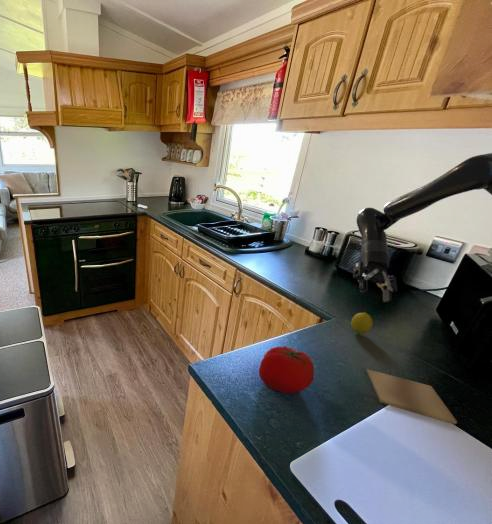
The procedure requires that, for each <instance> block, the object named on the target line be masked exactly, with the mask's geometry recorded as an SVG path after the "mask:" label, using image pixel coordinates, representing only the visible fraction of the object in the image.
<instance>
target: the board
mask: <svg viewBox="0 0 492 524" xmlns="http://www.w3.org/2000/svg"><path fill="white" fill-rule="evenodd" d="M365 373H366V374H367V376H368V378H369V381H370V383H371V385H372V387H373V389H374V391H375V394H376V396H377V399H378V400H379V402H380V403H381V404H385V405H389V406H392V407H395V408H399V409H401V410H404V411H408V410H409V412H411V413H415V414H418V415H423V416H425V415H426V417H429V416H430V417H429V418H432V417H433V419H435V418H436V420H440V421H442V420H443V421H442V422H445V423H450V424H453V425H457V424H458V421H457V420H456V418H455V417H454V415H453V414H452V413H451V411H450V410H449V408H448V407H447V405H446V404H445V403H444V402H443V400H442V399H441V397H440V396H439V394H438V393H437V391H436V390H435V389H434V388H433V386H432V385H429V384H425V383H422V382H417V381H414V380H410V379H406V378H402V377H399V376H395V375H392V374H387V373H384V372H380V371H376V370H372V369H369V368H367V369H366V371H365Z"/></svg>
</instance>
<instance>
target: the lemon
mask: <svg viewBox="0 0 492 524" xmlns="http://www.w3.org/2000/svg"><path fill="white" fill-rule="evenodd" d="M373 324H374V323H373V318H372V317H371V316H370V314H368V313H367V312H358V313H356V314H354V316H353V317H352V319H351V322H350V326H351V328H352V330H353V331H354V332H357V333H358V334H359V335H360V334H367V333H368V332H369V331H371V329H372V327H373ZM357 333H356V334H357Z"/></svg>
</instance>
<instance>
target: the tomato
mask: <svg viewBox="0 0 492 524" xmlns="http://www.w3.org/2000/svg"><path fill="white" fill-rule="evenodd" d="M258 375H259V378H260V380H261V381H262V383H263V384H264V385H266V386H267V387H268V388H271V389H273V390H275V391H277V392H279V393H283V394H297V393H300V392H301V391H303V390H306V389H307V388H308V387H309V386H310V385H311V384H312V382H313V381H314V379H315V378H314V377H315V366H314V364H313V361H312V359H311V357H310V356H309V355H308V354H307V353H306V352H303V351H298V350H297V351H296V350H295V349H294V348H291V347H288V346H285V345H284V344H283V346H275V347H272V348H270V349H268V350H267V351H266V353H265V354H264V356H263V358H262V359H261V362H260V365H259V368H258Z"/></svg>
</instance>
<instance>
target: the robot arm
mask: <svg viewBox="0 0 492 524" xmlns="http://www.w3.org/2000/svg"><path fill="white" fill-rule="evenodd" d="M475 190H476V191H477V190H484V191H486V192H487V193H488V194H490V195H491V196H492V152H489V153H484V154H478V155H475V156H471V157H468V158H467V159H465V160H464V161H462V162H460V163H459V164H457V165H456V166H454V167H453V168H451V169H449V170H448V171H446V172H445V173H443V174H442V175H440V176H439V177H437V178H435V179H433V180H432V181H430V182H428V183H426V184H424V185H422V186H420V187H418V188H415V189H414V190H411V191H409V192H407V193H405V194H403V195H400V196H398V197H397V198H394V199H392V200H390V201H388V202H386V204H385V205H384V206H383V211H381V210H379V209H376V208H374V207H365V208H363V209H361V210H360V211H359V212H358V213H357V215H356V225H357V228H358V231H359V234H360V236H361V249H360V250H361V251H360V261H359V262H356V263H354V264H353V275H352V277H353V279H355V280H357V282H358V284H359V285H358V286H359V292H360V293H361V294H364V293H367V292H368V291H369V281H370V282H373V283H374V284H376V285H377V287H378V288H380V289H381V291H382V302H383V303H385V304H387V303H390V302H392V300H393V295H392V294H393V293H396V292H398V291H399V289H398V282H397V276H396V275H389V274H388V269H389V267H390V258H389V257H390V256H389V247H388V237H387V233H386V230H388V229H389V228H391V227H392V226H393V225H395V224H396V223H397V222H399V221H400V220H401V219H404V218H406V217H409V216H412V215H414V214H416V213H419V212H421V211H423V210H425V209H427V208H428V207H431V206H432V205H434V204H435V203H437V202H439V201H442V200H444V199H447V198H449V197H453V196H456V195H460V194H462V193H467V192H471V191H475ZM383 282H384V283H383Z"/></svg>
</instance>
